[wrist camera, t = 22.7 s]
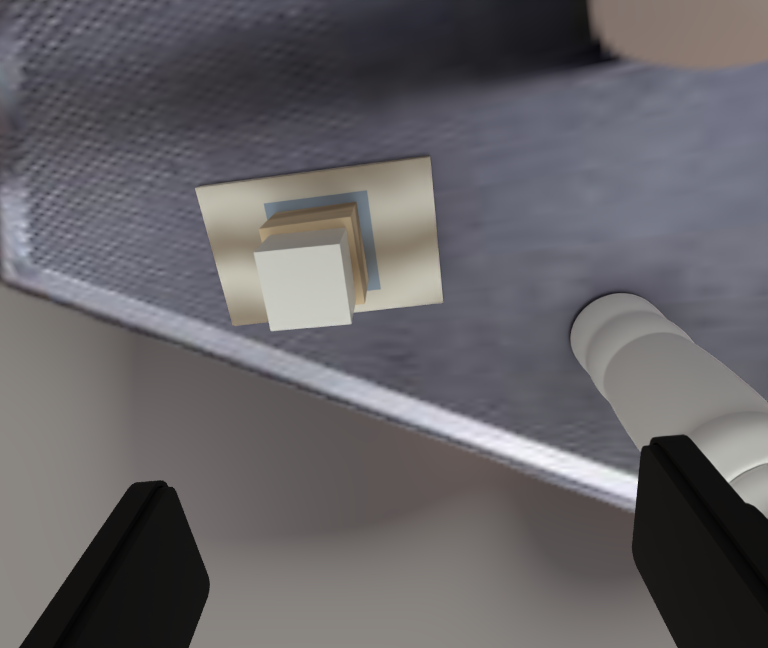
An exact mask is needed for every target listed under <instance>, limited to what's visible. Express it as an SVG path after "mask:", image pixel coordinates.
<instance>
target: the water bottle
mask: <svg viewBox="0 0 768 648" xmlns="http://www.w3.org/2000/svg"><path fill="white" fill-rule="evenodd" d="M570 340H571V347H572V350H573V353H574V355H575V357H576V358H577V360H578V361H579V363H580V364H581V365H582V367H583V368H584V369H585V370H586V372H587V373H588V374H589V375H590V376H591V379H592V381H593V382H594V384H595V386H596V387H597V389H598V390H599V392H600V393H601V394H602V395H603V396H604V398H605V399H607V400H608V401H609V402H610V404H611V406H612V408H613V410H614V412H615V413H616V415H617V417H618V419H619V420H620V422H621V424H622V425H623V427H624V428H625V430H626V431H627V433H628V434H629V436H630V437H631V439H632V440H633V442H634V443H635V445H636V446H637V448H638V449H639V451H640V452H641V449H642V447H643V446H645V445H649V444H650V440H651V439H652V438H653V437H659V436H670V435H682V434H684V435H687V436H688V437H689V438H690V439H691V440H692V441H693V442H694V443H695V444H696V446H697V447H698V448H699V449H700V450H701V451H702V453H703V454H704V455H705V456H706V457H707V458H708V460H709V461H710V462H711V463H712V464H713V465H714V467H715V468H716V469H717V470H718V471H719V472H720V474H721V475H722V476H723V477H724V478H725V480H726V481H727V482H728V483H729V484H730V485H731V487H732V488H733V489H734V490H735V491H736V492H737V494H738V495H739V496H740V497H741V498H742V499H743V501H744V502H745V503H749V504H751V505H753V506H755V507H756V508H757V509H758V510H759V511H761V512H762V513H763V514H764V516H765V517H766V518H767V519H768V402H767V401H766V400H765V399H764V398H762V397H761V396H760V395H759V394H758V393H757V392H756V391H755V390H754V389H753V388H751V387H750V386H749V385H748V384H747V383H746V382H745V381H743V380H742V379H741V378H740V377H739V376H737V375H736V374H735V373H734V372H733V371H731V370H730V369H729V368H728V367H726V366H725V365H724V364H723V363H721V362H720V361H719V360H718V359H716V358H715V357H714V356H712V355H711V354H709V353H708V352H707V351H705V350H704V349H702V348H701V347H699V346H698V345H696V344H695V343H694V342H693V341H692V339H691V338H690V337H689V336H688V335H687V334H686V333H685V332H684V331H683V330H682V329H681V328H679V327H678V326H677V325H676V324H674V323H673V322H671V321H669V320H668V319H666V317H665V316H664V315H663V314H662V313H661V312H660V311H659V310H658V309H657V308H656V307H655V306H653V305H652V304H651V303H650V302H648V301H647V300H645V299H644V298H642V297H639V296H637V295H633V294H627V293H616V294H611V295H607V296H604V297H601V298H599V299H597V300H595V301H593V302H592V303H590V304H589V305H588V306H587V307H586V308H584V309H583V310H582V312H581V313H580V314H579V315H578V317H577V318H576V320H575V322H574V324H573V327H572V330H571V337H570Z"/></svg>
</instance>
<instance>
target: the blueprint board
mask: <svg viewBox="0 0 768 648" xmlns="http://www.w3.org/2000/svg"><path fill="white" fill-rule="evenodd" d="M195 190H196V193H197V197H198V201H199V204H200V208H201V212H202V215H203V219H204V222H205V226H206V230H207V233H208V237H209V241H210V244H211V248H212V251H213V255H214V259H215V262H216V266H217V270H218V273H219V277H220V280H221V284H222V288H223V291H224V295H225V299H226V302H227V306H228V309H229V313H230V317H231V320H232V324H233V326H237V325H246V324H255V323H264V322H269V321H268V316H267V312H266V307H265V302H264V298H263V293H262V289H261V284H260V280H259V275H258V270H257V266H256V261H255V257H254V251H255V250H256V249H257V248H258V247H259V246H260V245H261V244H262V241H261V237H260V233H259V228H260V227H261V226H262V225H263V224H264V223H265V222H266V221H267V220H268V219H269V218H270V217H271V216H272V215H274V214H275V213H276V212H283V211H290V210H298V209H305V208H312V207H320V206H327V205H334V204H342V203H349V202H357V209H358V215H359V221H360V227H361V234H362V240H363V246H364V253H365V259H366V265H367V272H368V278H369V281H368V287H367V294H366V300H365V304H359V305H355V309H354V312H363V311H372V310H381V309H390V308H399V307H408V306H417V305H426V304H435V303H443V296H442V284H441V273H440V262H439V251H438V239H437V228H436V217H435V206H434V194H433V183H432V172H431V160H430V156H421V157H414V158H406V159H399V160H391V161H384V162H376V163H369V164H361V165H354V166H346V167H338V168H331V169H323V170H316V171H308V172H301V173H293V174H286V175H278V176H271V177H263V178H256V179H248V180H241V181H233V182H226V183H218V184H211V185H203V186H199V187H196V188H195Z"/></svg>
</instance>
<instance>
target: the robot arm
mask: <svg viewBox="0 0 768 648" xmlns="http://www.w3.org/2000/svg"><path fill="white" fill-rule="evenodd" d="M632 553H633V557H634V561H635V564H636V566H637V569H638V570H639V572H640V574H641V576H642V578H643V580H644V582H645V584H646V586H647V588H648V590H649V592H650V594H651V596H652V598H653V600H654V602H655V604H656V606H657V608H658V610H659V612H660V614H661V616H662V618H663V620H664V622H665V624H666V626H667V628H668V629H669V632H670V634H671V636H672V637H673V640H674V642H675V643H676V646H677V647H678V648H768V519H767V518H766V517H765V516H764V514H763V513H762V512H761V511H759V510H758V509H757V508H756V507H755V506H753V505H751V504H749V503H745V502H744V501H743V499H742V498H741V497H740V496H739V495H738V494H737V492H736V491H735V490H734V489H733V488H732V487H731V485H730V484H729V483H728V482H727V481H726V480H725V478H724V477H723V476H722V475H721V474H720V472H719V471H718V470H717V469H716V468H715V467H714V465H713V464H712V463H711V462H710V461H709V460H708V458H707V457H706V456H705V455H704V454H703V453H702V451H701V450H700V449H699V448H698V447H697V446H696V444H695V443H694V442H693V441H692V440H691V439H690V438H689V437H688V436H687V435H684V434H682V435H670V436H659V437H653V438H652V439H651V440H650V444H649V445H645V446H643V447H642V449H641V456H640V467H639V477H638V488H637V498H636V509H635V519H634V531H633V541H632ZM209 588H210V582H209V577H208V574H207V571H206V568H205V566H204V563H203V561H202V558H201V555H200V553H199V550H198V548H197V545H196V542H195V540H194V537H193V534H192V532H191V529H190V527H189V524H188V522H187V519H186V516H185V514H184V511H183V508H182V506H181V503H180V500H179V498H178V495H177V493H176V491H175V489H174V488H173V487H168V485H167V483H166V482H164V481H161V480H160V481H148V482H137V483H134V484H132V485H131V486H130V487H129V488H128V489H127V491H126V492H125V494H124V496H123V497H122V498H121V500H120V501H119V503H118V504H117V506H116V507H115V508H114V510H113V512H112V513H111V514H110V516H109V517H108V519H107V520H106V522H105V523H104V525H103V526H102V527H101V529H100V530H99V532H98V533H97V535H96V536H95V538H94V539H93V541H92V542H91V544H90V545H89V547H88V548H87V549H86V551H85V552H84V554H83V555H82V557H81V558H80V560H79V561H78V563H77V564H76V565H75V567H74V568H73V570H72V572H71V573H70V574H69V576H68V577H67V579H66V580H65V582H64V583H63V584H62V586H61V587H60V589H59V590H58V592H57V593H56V595H55V596H54V598H53V599H52V600H51V602H50V603H49V605H48V606H47V608H46V609H45V611H44V612H43V614H42V615H41V617H40V618H39V619H38V621H37V622H36V624H35V625H34V627H33V628H32V630H31V631H30V633H29V634H28V636H27V637H26V638H25V640H24V641H23V643H22V644H21V646H20V647H19V648H189V645H190V643H191V640H192V637H193V635H194V632H195V629H196V627H197V624H198V621H199V619H200V616H201V613H202V611H203V608H204V606H205V603H206V600H207V598H208V594H209Z"/></svg>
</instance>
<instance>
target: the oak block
mask: <svg viewBox="0 0 768 648" xmlns="http://www.w3.org/2000/svg"><path fill="white" fill-rule="evenodd" d="M344 227H346V229H347V236H348V244H349V251H350V258H351V265H352V272H353V280H354V287H355V294H356V304H355V305H359V304H365V300H366V294H367V287H368V281H369V278H368V272H367V265H366V259H365V253H364V246H363V240H362V234H361V227H360V221H359V215H358V209H357V202H349V203H342V204H334V205H327V206H320V207H312V208H305V209H298V210H290V211H283V212H276V213H275V214H274V215H272V216H271V217H270V218H269V219H268V220H267V221H266V222H265V223H264V224H263V225H262V226H261V227H260V228H259V233H260V237H261V241H262V243H263V242H264V241H265V239H266V238H267V237H268V236H269V235H274V234H284V233H294V232H304V231H314V230H324V229H334V228H344Z"/></svg>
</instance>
